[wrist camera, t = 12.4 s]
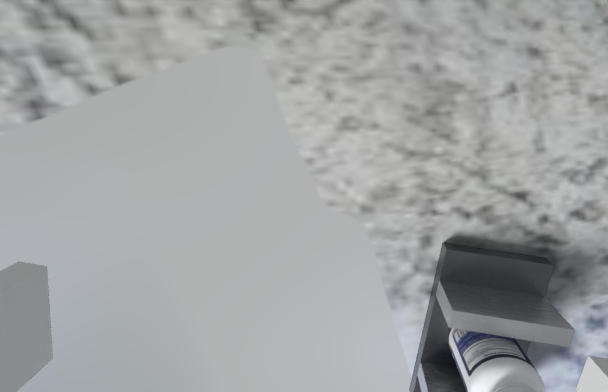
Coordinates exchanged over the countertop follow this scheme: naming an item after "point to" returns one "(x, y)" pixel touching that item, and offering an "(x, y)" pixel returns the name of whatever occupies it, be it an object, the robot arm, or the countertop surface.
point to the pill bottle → (492, 363)
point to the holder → (484, 309)
